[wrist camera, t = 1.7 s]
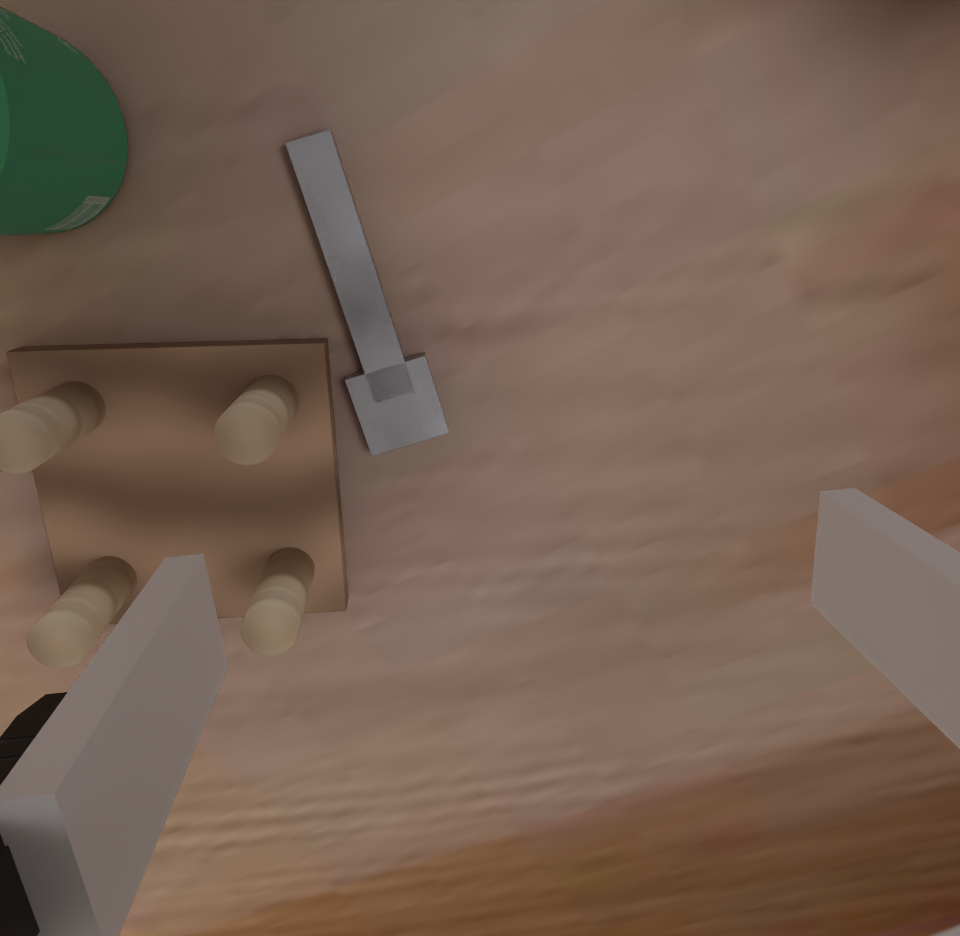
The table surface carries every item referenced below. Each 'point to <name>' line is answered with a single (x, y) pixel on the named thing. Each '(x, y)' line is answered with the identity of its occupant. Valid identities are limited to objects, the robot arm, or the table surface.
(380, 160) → the table surface
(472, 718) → the table surface
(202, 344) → the peg board
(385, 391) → the grey square paddle
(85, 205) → the beverage can
